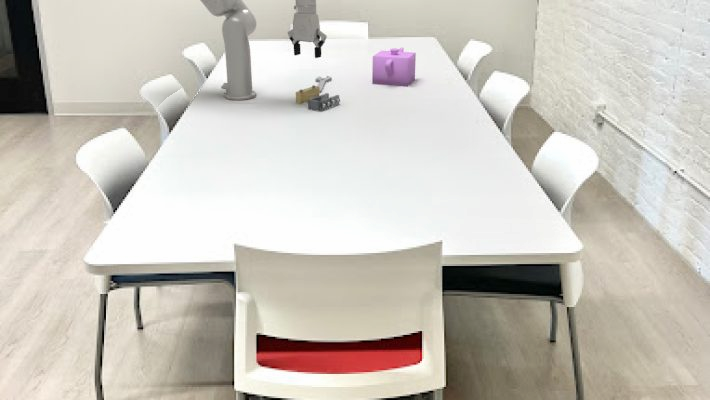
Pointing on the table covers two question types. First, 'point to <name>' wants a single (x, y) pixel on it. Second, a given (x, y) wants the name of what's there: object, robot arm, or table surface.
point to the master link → (307, 94)
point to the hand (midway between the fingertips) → (307, 56)
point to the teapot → (394, 67)
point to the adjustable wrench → (322, 82)
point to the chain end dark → (318, 103)
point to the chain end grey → (333, 100)
